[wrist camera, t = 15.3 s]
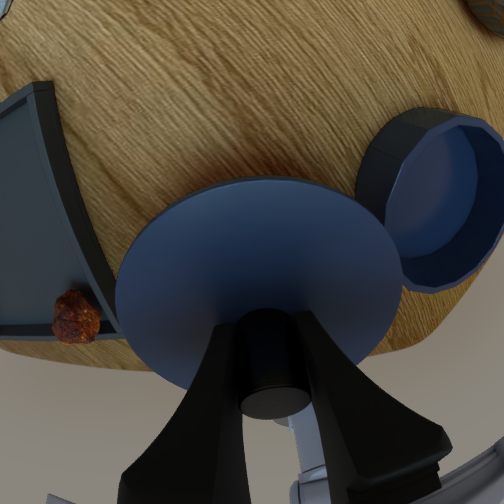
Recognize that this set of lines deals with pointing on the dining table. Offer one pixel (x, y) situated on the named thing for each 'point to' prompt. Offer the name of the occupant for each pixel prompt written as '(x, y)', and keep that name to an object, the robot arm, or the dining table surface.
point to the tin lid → (258, 284)
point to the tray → (44, 224)
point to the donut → (4, 6)
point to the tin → (436, 194)
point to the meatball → (75, 319)
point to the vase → (489, 14)
